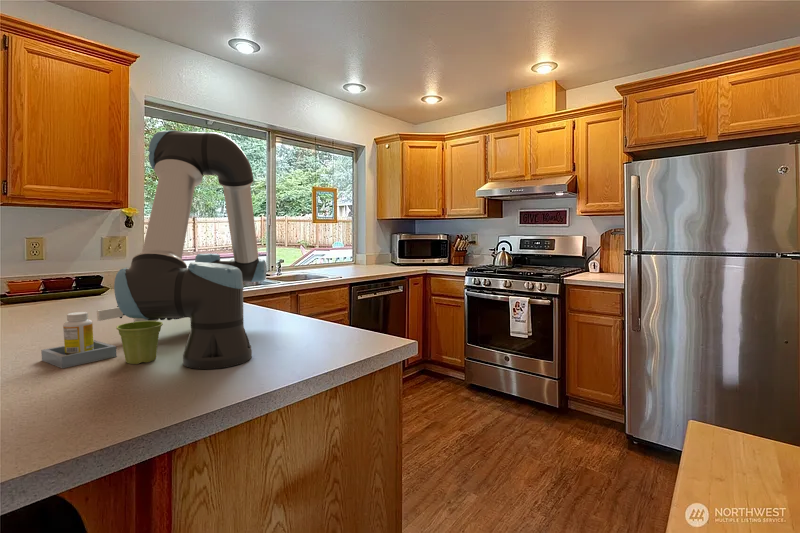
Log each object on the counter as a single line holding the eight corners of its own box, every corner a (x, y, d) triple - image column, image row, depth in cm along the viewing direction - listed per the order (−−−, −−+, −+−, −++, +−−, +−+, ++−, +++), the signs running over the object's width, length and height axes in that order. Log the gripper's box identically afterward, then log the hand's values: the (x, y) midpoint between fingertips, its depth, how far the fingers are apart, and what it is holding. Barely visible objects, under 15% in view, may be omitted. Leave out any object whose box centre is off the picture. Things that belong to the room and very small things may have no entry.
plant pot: (172, 355, 103) (171, 321, 102) (145, 367, 94) (144, 329, 93) (137, 354, 104) (136, 320, 103) (107, 365, 95) (105, 328, 94)
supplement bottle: (92, 350, 104) (90, 310, 103) (95, 355, 100) (93, 313, 99) (63, 354, 100) (61, 313, 99) (66, 359, 96) (63, 316, 95)
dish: (116, 356, 102) (116, 346, 102) (62, 368, 92) (61, 357, 92) (95, 350, 107) (94, 340, 107) (41, 360, 98) (41, 349, 98)
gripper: (215, 320, 124) (151, 336, 104) (154, 314, 132) (84, 327, 112) (215, 295, 123) (150, 306, 103) (154, 291, 132) (83, 300, 112)
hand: (115, 317), depth 108 cm, fingers open, 13 cm apart
